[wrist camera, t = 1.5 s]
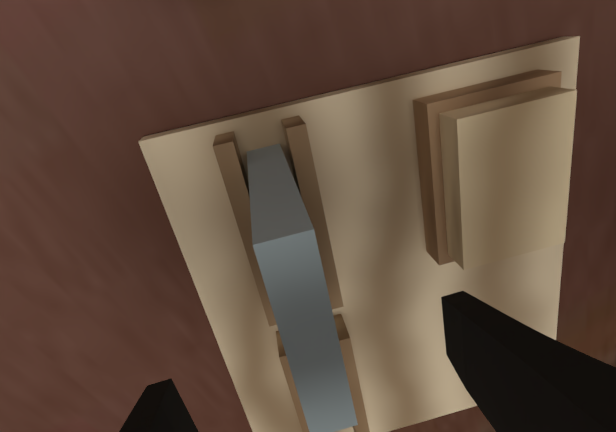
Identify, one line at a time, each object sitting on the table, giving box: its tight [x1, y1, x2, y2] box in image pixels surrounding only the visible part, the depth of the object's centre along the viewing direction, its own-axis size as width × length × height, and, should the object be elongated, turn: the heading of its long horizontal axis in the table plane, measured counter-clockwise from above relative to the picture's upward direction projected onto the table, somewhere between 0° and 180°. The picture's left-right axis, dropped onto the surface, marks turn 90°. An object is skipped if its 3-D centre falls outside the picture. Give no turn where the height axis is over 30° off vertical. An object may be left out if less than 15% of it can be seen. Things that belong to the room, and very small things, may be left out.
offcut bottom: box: [413, 69, 562, 265], centre depth 19 cm, size 6×8×2 cm
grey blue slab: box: [247, 144, 358, 432], centre depth 15 cm, size 2×7×9 cm, turn 12°
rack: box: [138, 36, 580, 432], centre depth 21 cm, size 20×22×3 cm
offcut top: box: [439, 86, 577, 270], centre depth 18 cm, size 5×7×2 cm
